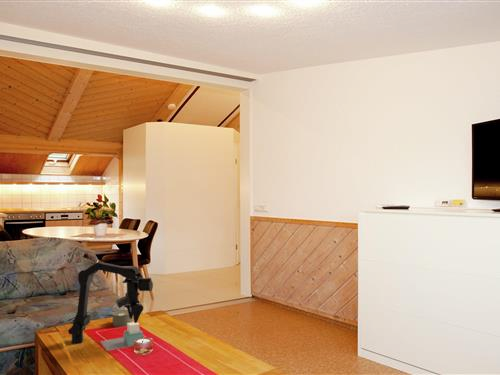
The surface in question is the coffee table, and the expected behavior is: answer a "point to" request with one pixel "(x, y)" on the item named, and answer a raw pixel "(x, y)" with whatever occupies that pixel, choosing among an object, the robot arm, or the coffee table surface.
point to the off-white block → (132, 328)
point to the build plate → (122, 341)
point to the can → (121, 318)
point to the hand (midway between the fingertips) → (133, 320)
